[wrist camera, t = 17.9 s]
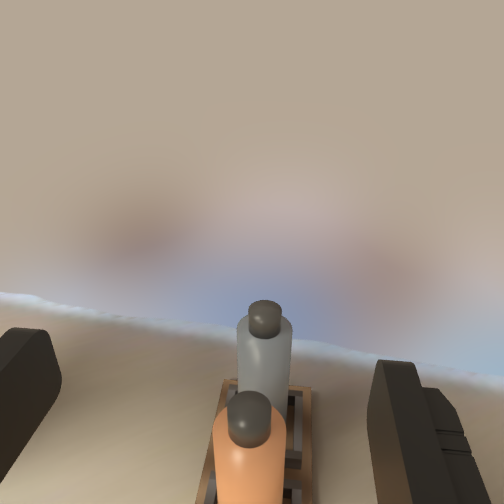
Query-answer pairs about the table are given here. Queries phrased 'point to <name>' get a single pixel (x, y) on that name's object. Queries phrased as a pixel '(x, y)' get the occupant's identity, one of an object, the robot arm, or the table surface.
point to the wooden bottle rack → (296, 450)
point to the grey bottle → (265, 353)
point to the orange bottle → (249, 451)
